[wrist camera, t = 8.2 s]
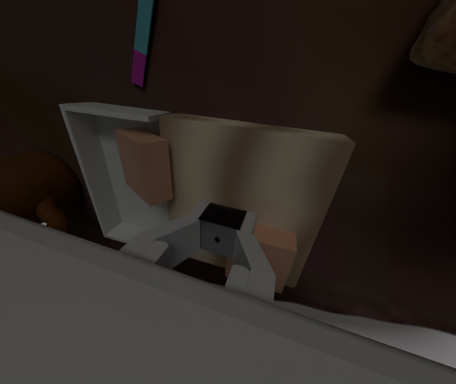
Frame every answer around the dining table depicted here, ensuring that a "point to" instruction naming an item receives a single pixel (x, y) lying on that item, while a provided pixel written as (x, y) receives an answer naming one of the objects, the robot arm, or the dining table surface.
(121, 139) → the tile
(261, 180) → the board
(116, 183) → the tray
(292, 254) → the tile
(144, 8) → the squeegee
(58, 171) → the mug
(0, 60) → the dining table surface
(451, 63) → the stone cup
